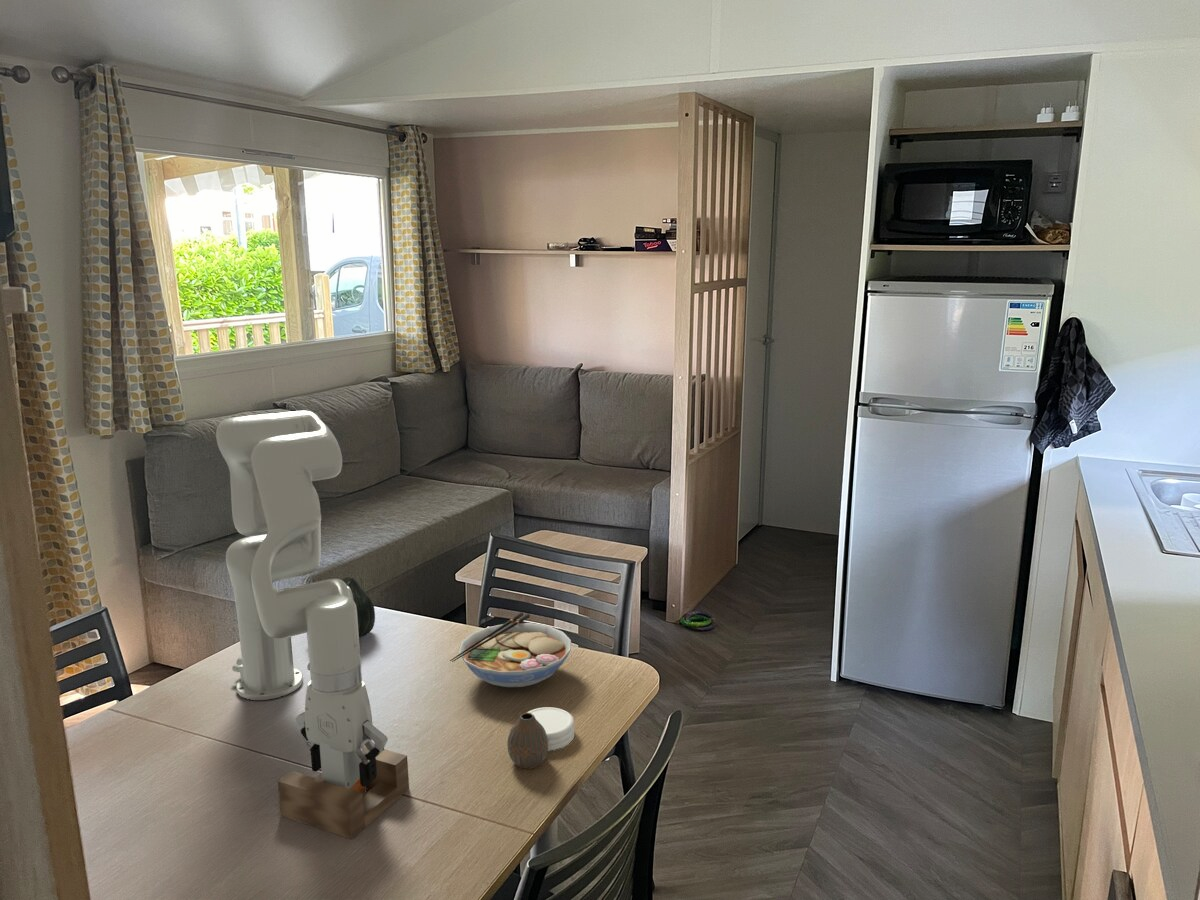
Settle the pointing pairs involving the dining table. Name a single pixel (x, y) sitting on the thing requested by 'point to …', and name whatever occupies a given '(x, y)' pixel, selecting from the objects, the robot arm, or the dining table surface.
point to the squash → (361, 606)
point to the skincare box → (340, 768)
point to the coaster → (555, 726)
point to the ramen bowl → (515, 652)
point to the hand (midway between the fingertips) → (344, 774)
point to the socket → (344, 797)
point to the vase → (527, 742)
